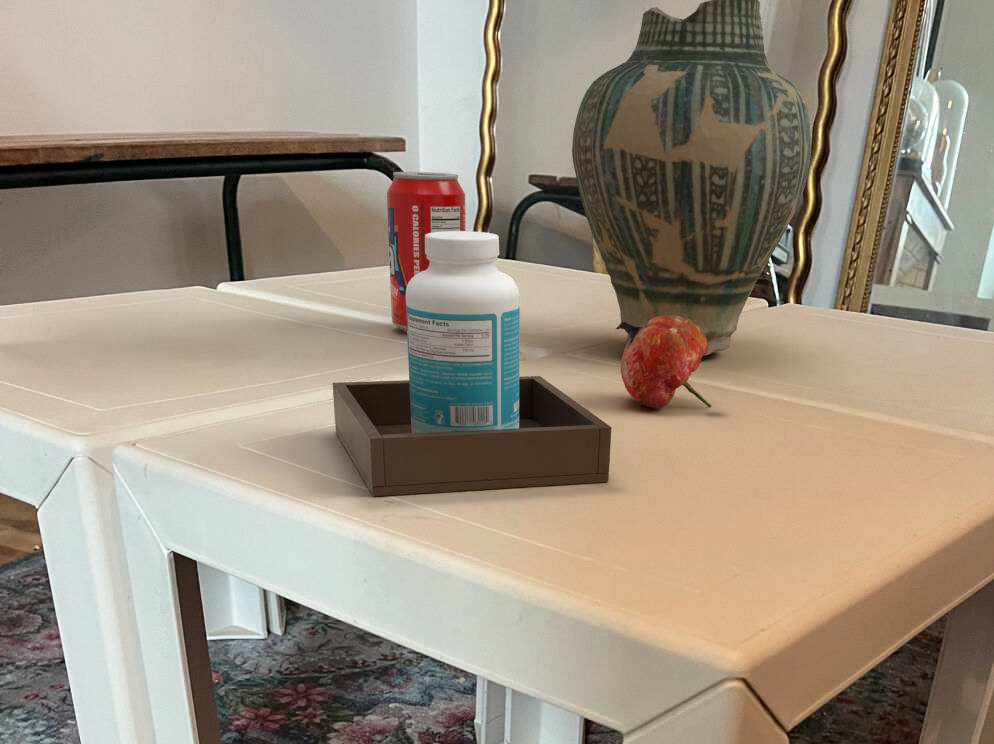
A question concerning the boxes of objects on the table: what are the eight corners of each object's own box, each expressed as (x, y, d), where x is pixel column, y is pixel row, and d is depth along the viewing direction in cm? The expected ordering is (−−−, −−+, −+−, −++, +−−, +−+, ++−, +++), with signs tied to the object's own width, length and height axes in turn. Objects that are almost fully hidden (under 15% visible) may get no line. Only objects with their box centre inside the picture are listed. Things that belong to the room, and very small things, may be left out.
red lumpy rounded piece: (691, 422, 98) (606, 342, 96) (749, 360, 93) (661, 275, 92) (673, 452, 92) (581, 368, 90) (733, 387, 88) (638, 298, 86)
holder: (372, 496, 69) (369, 438, 68) (335, 432, 82) (332, 382, 80) (608, 482, 74) (611, 427, 72) (538, 423, 87) (540, 375, 85)
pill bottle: (471, 428, 82) (470, 226, 76) (540, 450, 78) (546, 237, 71) (389, 444, 78) (379, 231, 71) (457, 469, 73) (455, 243, 66)
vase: (827, 371, 108) (882, -2, 93) (614, 380, 101) (637, -21, 86) (722, 330, 126) (754, 12, 111) (535, 336, 119) (542, -3, 104)
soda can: (446, 340, 115) (444, 176, 108) (378, 332, 117) (371, 172, 110) (477, 328, 122) (477, 173, 114) (412, 321, 124) (408, 169, 116)
